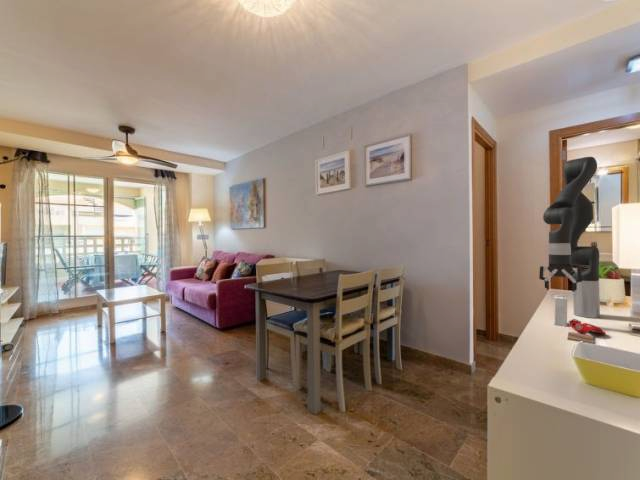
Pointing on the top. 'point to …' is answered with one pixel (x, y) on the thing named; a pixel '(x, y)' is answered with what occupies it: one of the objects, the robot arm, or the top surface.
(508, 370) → the top surface
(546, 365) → the top surface
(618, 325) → the top surface
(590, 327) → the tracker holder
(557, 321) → the skincare box
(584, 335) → the coaster
